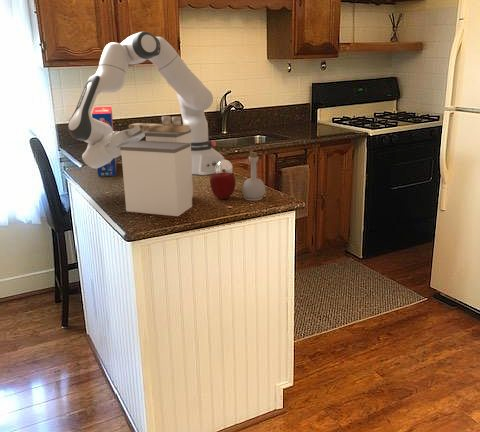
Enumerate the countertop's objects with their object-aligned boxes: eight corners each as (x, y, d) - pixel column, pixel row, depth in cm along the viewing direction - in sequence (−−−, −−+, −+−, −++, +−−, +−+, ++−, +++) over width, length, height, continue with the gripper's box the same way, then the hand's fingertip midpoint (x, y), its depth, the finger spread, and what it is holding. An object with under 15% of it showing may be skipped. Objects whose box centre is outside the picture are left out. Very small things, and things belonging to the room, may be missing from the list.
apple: (210, 194, 203) (209, 169, 200) (235, 194, 204) (234, 169, 201) (210, 201, 194) (209, 175, 191) (236, 201, 195) (235, 174, 192)
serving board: (129, 130, 192) (128, 116, 190) (136, 128, 197) (135, 114, 195) (183, 132, 185) (183, 118, 183) (190, 130, 190) (189, 116, 188)
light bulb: (235, 187, 214) (234, 158, 210) (229, 191, 208) (229, 161, 204) (219, 186, 216) (218, 157, 212) (213, 190, 210) (212, 160, 206)
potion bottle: (241, 195, 202) (240, 149, 196) (263, 194, 202) (263, 148, 197) (243, 201, 193) (242, 153, 188) (266, 201, 194) (266, 153, 189)
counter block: (125, 211, 184) (119, 137, 176) (157, 193, 206) (153, 127, 198) (178, 216, 178) (174, 140, 170) (205, 197, 200) (203, 129, 192)
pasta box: (116, 175, 237) (110, 113, 228) (98, 176, 235) (91, 113, 227) (116, 163, 263) (111, 106, 255) (100, 163, 261) (94, 107, 253)
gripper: (97, 140, 188) (125, 122, 183) (127, 131, 207) (152, 114, 201) (106, 155, 189) (134, 138, 183) (135, 145, 208) (161, 129, 202)
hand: (144, 125), depth 192 cm, fingers closed on serving board, 4 cm apart
